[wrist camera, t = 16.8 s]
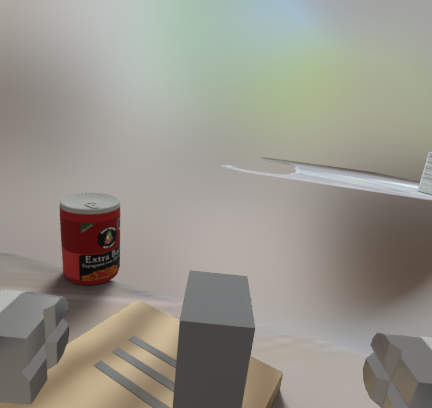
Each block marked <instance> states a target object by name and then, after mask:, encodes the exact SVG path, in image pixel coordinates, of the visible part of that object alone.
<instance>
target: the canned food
mask: <svg viewBox="0 0 432 408" xmlns="http://www.w3.org/2000/svg"><path fill="white" fill-rule="evenodd" d="M60 222H61V223H60V224H61V241H62V258H63V271H64V274H65V276H66V278H67V279H68V280H69V281H70V282H73V283H75V284H79V285H96V284H101V283H104V282H107V281H109V280H111V279H112V278H114V276H116V274H117V273H118V270H119V266H120V201H119V199H118V198H116V197H114V196H111V195H107V194H99V193H81V194H74V195H70V196H67V197H65V198H63V199H61V200H60Z"/></svg>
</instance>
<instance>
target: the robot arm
mask: <svg viewBox="0 0 432 408" xmlns="http://www.w3.org/2000/svg"><path fill="white" fill-rule="evenodd" d="M67 312H68V300H67V299H66V298H65V297H63V296H55V295H48V294H41V293H33V292H24V291H17V290H9V289H7V290H3V291H1V292H0V402H1V403H14V404H28V405H31V404H32V403H33V401H34V400H35V398H36V397H37V395H38V393H39V392H40V390H41V389H42V387H43V386H44V384H45V383H46V381H47V370H49V369H50V368H52V367H54V366H55V365H57V364H58V362H59V360H60V359H61V357H62V356H63V353H64V351H65V348H66V345H67V342H68V336H69V325H68V324H67V322H66V321H65V320H64V316H65V315H66V314H67ZM371 347H372V349H373V351H374V353H373V354H371V355H370V356H369V357H367V358H366V360H365V364H364V367H363V380H364V384H365V388H366V390H367V392H368V394H369V396H370V398H371V399H372V400H373V401H374V402H375V403H376V404H377V405H379V406H380V407H381V408H432V338H430V337H419V336H415V337H411V336H403V335H394V334H384V333H377V334H376V335H375V336H374V337H373V339H372V342H371Z"/></svg>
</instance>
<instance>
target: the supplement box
mask: <svg viewBox="0 0 432 408" xmlns="http://www.w3.org/2000/svg"><path fill="white" fill-rule="evenodd" d="M418 191H420V192H423V193H427V194H431V195H432V152H429V154H428V157H427V160H426V164H425V167H424V171H423V174H422V177H421V181H420V184H419V188H418Z"/></svg>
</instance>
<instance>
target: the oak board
mask: <svg viewBox="0 0 432 408" xmlns="http://www.w3.org/2000/svg"><path fill="white" fill-rule="evenodd" d="M179 324H180V321H179V320H177V319H175V318H174V317H172V316H170V315H168V314H166V313H164V312H162V311H160V310H158V309H156V308H154V307H152V306H150V305H148V304H146V303H144V302H142V301H140V300H136V301H135V302H133V303H132V304H130V305H129V306H127V307H125V308H124V309H122V310H121V311H119V312H117V313H116V314H114V315H113V316H111V317H110V318H108V319H106V320H105V321H103V322H102V323H100V324H98V325H97V326H95V327H94V328H92V329H91V330H89V331H87V332H86V333H84V334H83V335H81V336H79V337H78V338H76V339H75V340H73V341H71V342H70V343H68V344H67V345H66V348H65V351H64V353H63V356H62V357H61V359H60V360H59V362H58V364H57V365H55V366H54V367H52V368H50V369H49V370H47V381H46V383H45V384H44V386H43V387H42V389H41V390H40V392H39V393H38V395H37V397H36V398H35V400H34V401H33V403H32V404H31V405H28V404H14V403H1V402H0V408H173V397H174V384H175V372H176V360H177V348H178V336H179ZM282 376H283V372H281V371H279V370H277V369H275V368H273V367H271V366H269V365H267V364H265V363H263V362H261V361H259V360H257V359H255V358H253V357H251V356H250V361H249V367H248V373H247V379H246V385H245V391H244V397H243V403H242V408H271V407H272V405H273V403H274V401H275V399H276V396H277V394H278V392H279V390H280V386H281V381H282Z"/></svg>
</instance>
